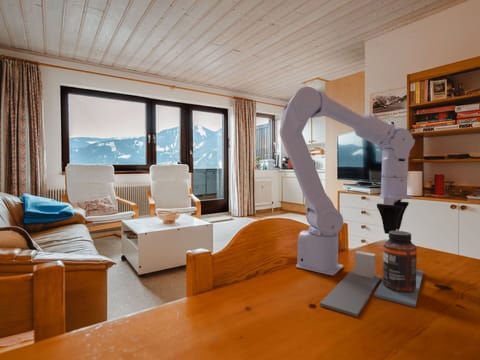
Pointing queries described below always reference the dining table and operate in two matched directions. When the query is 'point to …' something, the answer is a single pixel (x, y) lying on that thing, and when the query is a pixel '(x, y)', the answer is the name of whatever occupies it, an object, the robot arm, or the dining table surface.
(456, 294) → the dining table surface
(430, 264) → the dining table surface
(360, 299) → the strip empty
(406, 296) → the strip
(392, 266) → the supplement bottle
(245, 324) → the dining table surface
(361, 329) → the dining table surface
